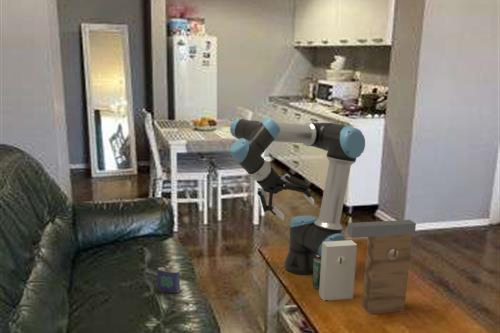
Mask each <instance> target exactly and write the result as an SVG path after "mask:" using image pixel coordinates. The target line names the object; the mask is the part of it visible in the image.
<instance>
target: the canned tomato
mask: <svg viewBox="0 0 500 333" xmlns="http://www.w3.org/2000/svg"><path fill="white" fill-rule="evenodd" d="M313 260H314V263H313V274H312V287H313V288H315V289H318V290H319V286H320V270H321V257H320V256H317V257H316V258H314V259H313Z"/></svg>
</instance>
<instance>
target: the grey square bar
mask: <svg viewBox="0 0 500 333" xmlns="http://www.w3.org/2000/svg"><path fill="white" fill-rule="evenodd" d="M416 226H417V223H416V222H414V221H413V220H412V219H402V220H397V219H396V220H384V221H382V220H381V221H380V220H379V221H377V220H376V221H363V222H361V221H359V222H347V232H346V233H347V235H348V236H349V237H350V238H351V239H354V238H368V237H375V236H392V235H410V234H412V235H415V234H416Z"/></svg>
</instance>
